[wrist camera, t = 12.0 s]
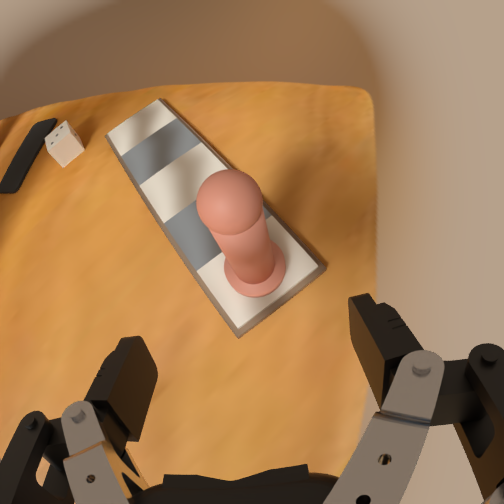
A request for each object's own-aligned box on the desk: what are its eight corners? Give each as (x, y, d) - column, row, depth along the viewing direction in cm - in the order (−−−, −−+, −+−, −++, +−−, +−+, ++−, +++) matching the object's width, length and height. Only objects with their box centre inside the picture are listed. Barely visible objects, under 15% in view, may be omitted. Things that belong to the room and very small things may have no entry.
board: (238, 338, 24) (236, 337, 23) (106, 138, 36) (103, 134, 35) (325, 270, 25) (326, 266, 24) (161, 101, 37) (159, 95, 36)
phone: (-5, 192, 37) (34, 122, 42) (-2, 194, 38) (36, 125, 43) (15, 191, 36) (58, 116, 41) (18, 194, 36) (60, 119, 42)
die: (63, 168, 36) (47, 151, 32) (59, 154, 37) (44, 137, 34) (85, 149, 36) (70, 131, 33) (80, 136, 38) (66, 119, 34)
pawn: (249, 309, 24) (207, 250, 13) (215, 264, 26) (158, 183, 15) (297, 272, 24) (295, 186, 14) (261, 230, 26) (234, 131, 15)
